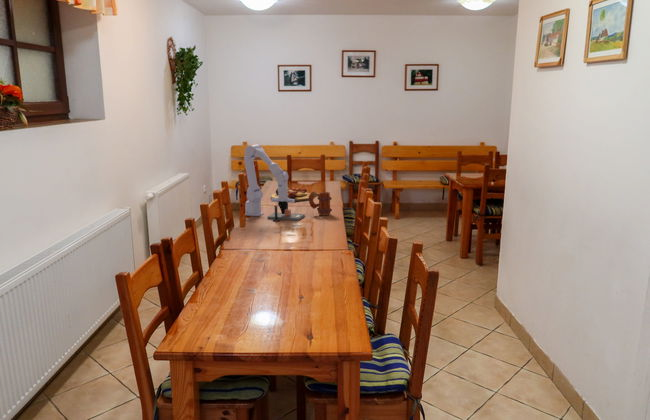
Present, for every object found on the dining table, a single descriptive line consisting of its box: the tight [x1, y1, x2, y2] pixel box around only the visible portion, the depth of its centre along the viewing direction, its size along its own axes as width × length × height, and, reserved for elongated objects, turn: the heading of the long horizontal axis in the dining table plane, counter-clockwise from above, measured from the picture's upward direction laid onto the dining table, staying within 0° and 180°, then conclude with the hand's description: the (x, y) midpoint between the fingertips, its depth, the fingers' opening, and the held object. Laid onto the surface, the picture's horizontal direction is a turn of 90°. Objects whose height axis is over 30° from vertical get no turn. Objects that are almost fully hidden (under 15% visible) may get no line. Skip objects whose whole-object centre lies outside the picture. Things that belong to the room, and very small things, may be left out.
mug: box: [308, 190, 333, 217], centre depth 319 cm, size 15×8×15 cm, turn 84°
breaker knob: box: [284, 208, 292, 216], centre depth 313 cm, size 3×3×4 cm
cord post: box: [272, 205, 280, 223], centre depth 305 cm, size 4×4×9 cm
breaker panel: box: [266, 212, 306, 222], centre depth 314 cm, size 20×12×2 cm, turn 73°
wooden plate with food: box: [270, 186, 311, 202], centre depth 377 cm, size 32×32×8 cm
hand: (283, 213), depth 314 cm, fingers closed
